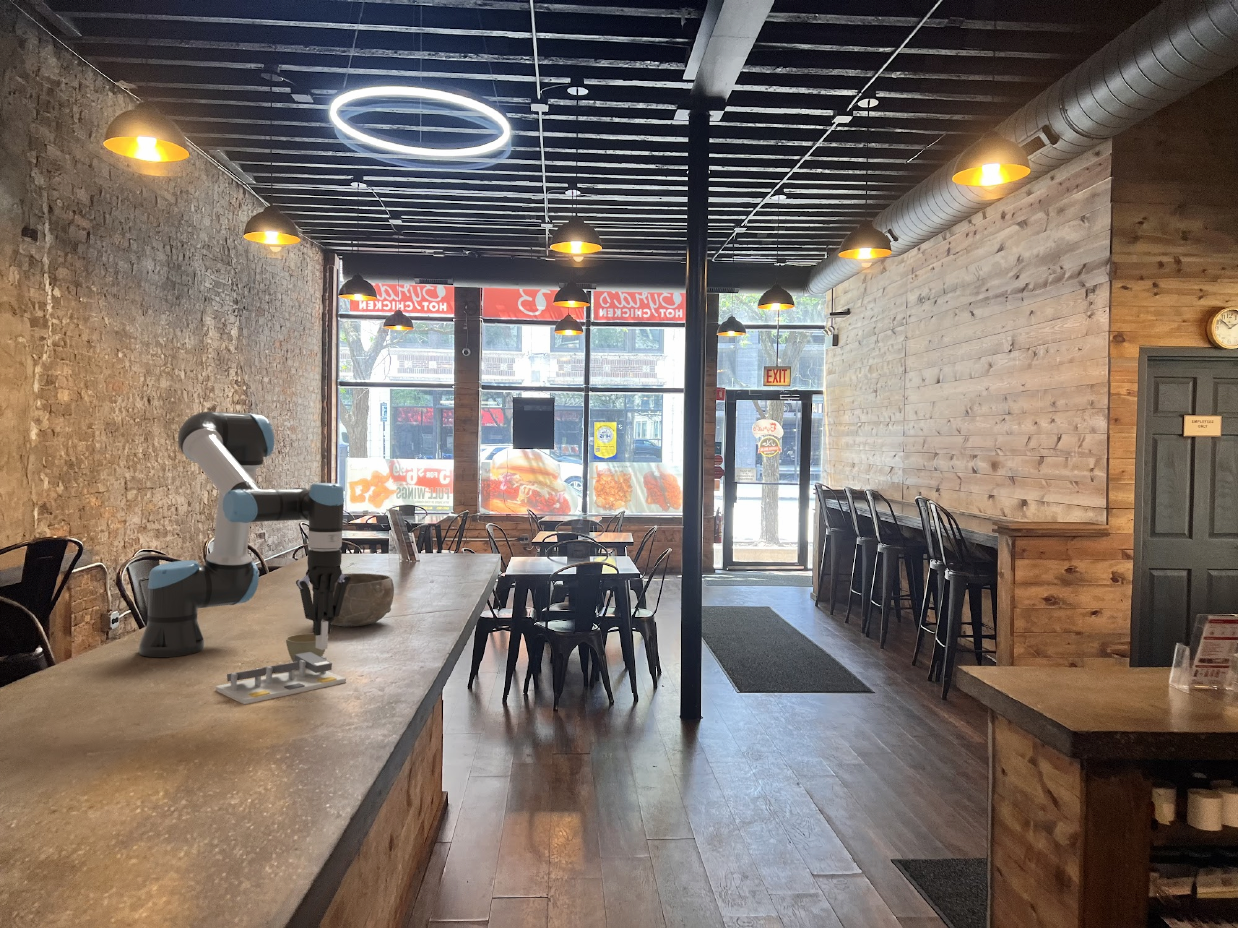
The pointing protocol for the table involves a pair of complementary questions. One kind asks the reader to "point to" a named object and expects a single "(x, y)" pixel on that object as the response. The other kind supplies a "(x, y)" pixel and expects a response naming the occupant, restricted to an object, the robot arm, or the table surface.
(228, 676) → the rocker
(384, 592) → the bowl
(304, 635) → the flower pot
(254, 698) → the switch unit
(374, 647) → the table surface
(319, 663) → the rocker
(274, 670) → the rocker
